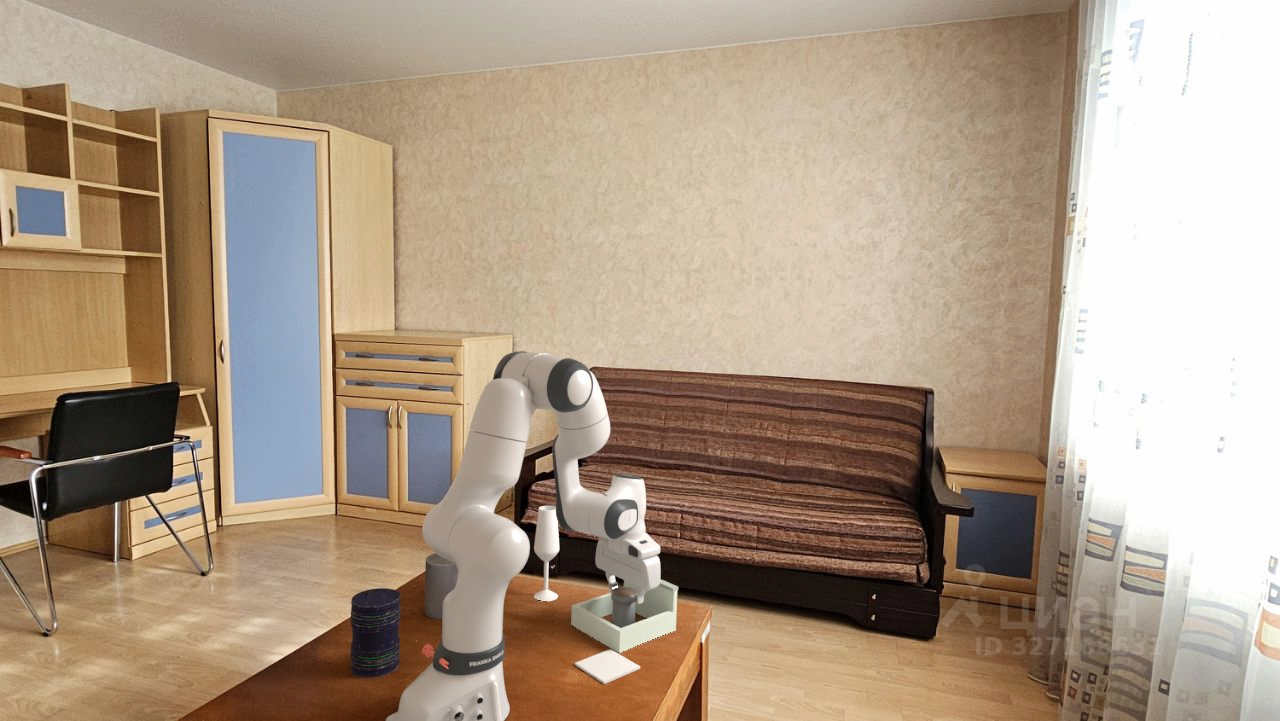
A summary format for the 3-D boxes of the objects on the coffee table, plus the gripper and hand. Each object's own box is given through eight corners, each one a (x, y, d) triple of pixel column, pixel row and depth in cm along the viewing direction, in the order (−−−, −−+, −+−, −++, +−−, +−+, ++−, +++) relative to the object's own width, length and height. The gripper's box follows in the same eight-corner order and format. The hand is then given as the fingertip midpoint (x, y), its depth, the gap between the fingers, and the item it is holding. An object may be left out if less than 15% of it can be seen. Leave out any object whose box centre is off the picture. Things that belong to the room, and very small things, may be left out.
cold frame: (619, 653, 158) (620, 606, 157) (571, 625, 171) (572, 581, 171) (676, 630, 170) (678, 586, 170) (627, 605, 184) (628, 565, 183)
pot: (622, 636, 166) (623, 599, 166) (604, 627, 171) (605, 590, 170) (641, 629, 171) (643, 592, 170) (624, 619, 175) (625, 584, 175)
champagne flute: (563, 596, 188) (565, 508, 187) (544, 603, 183) (547, 513, 181) (546, 589, 193) (548, 503, 191) (527, 596, 187) (529, 508, 186)
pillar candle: (422, 606, 179) (422, 548, 178) (460, 600, 183) (461, 544, 182) (427, 622, 171) (428, 562, 169) (468, 616, 175) (469, 557, 173)
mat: (604, 684, 145) (604, 681, 145) (574, 665, 152) (574, 662, 152) (640, 668, 151) (640, 666, 151) (610, 651, 159) (610, 649, 159)
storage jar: (410, 663, 151) (411, 595, 150) (371, 683, 142) (372, 611, 141) (378, 650, 156) (379, 584, 155) (339, 669, 147) (340, 599, 146)
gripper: (589, 531, 175) (588, 585, 176) (645, 554, 160) (644, 613, 161) (609, 526, 179) (608, 579, 180) (665, 548, 164) (664, 606, 165)
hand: (625, 596), depth 170 cm, fingers open, 8 cm apart
